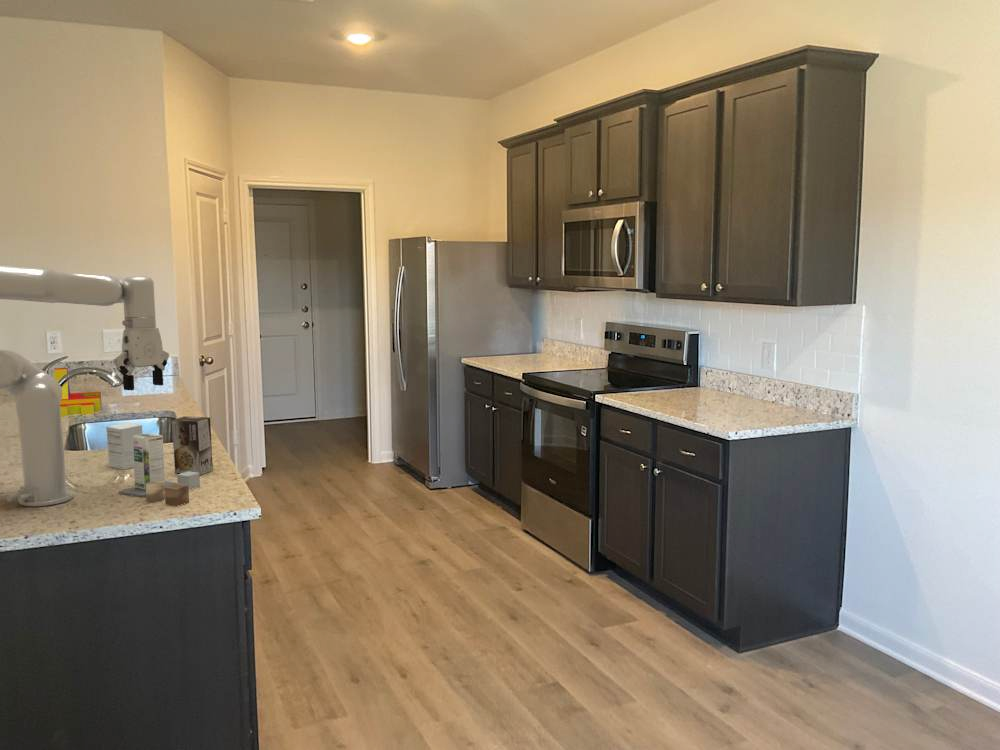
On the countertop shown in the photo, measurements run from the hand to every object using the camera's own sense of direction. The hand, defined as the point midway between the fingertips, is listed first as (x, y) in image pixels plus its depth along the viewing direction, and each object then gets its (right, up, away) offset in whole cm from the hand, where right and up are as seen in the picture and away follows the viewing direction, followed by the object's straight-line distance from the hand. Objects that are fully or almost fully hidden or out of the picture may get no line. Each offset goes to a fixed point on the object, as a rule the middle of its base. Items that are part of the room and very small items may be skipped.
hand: (143, 387), depth 218 cm
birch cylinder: (+6, -29, -6) cm, 30 cm away
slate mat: (0, -28, +4) cm, 28 cm away
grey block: (+10, -28, +6) cm, 30 cm away
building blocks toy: (-81, -13, +120) cm, 146 cm away
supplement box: (-18, -25, +30) cm, 43 cm away
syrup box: (0, -27, +4) cm, 28 cm away
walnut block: (+13, -30, -9) cm, 33 cm away
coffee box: (+5, -26, +23) cm, 35 cm away
